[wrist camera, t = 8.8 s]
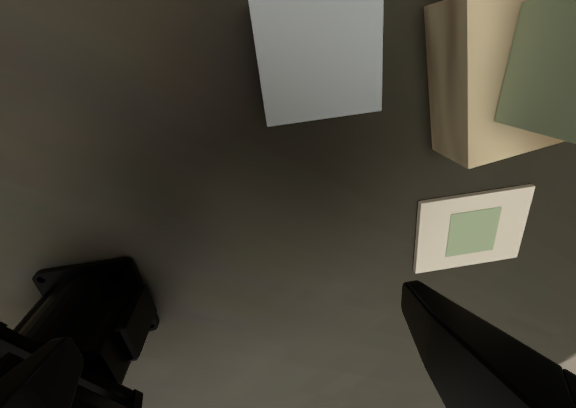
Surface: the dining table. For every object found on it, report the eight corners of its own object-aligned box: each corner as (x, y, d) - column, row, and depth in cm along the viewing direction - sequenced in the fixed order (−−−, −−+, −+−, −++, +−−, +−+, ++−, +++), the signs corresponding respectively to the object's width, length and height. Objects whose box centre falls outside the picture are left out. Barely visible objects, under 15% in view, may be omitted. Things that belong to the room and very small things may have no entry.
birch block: (430, 148, 20) (468, 169, 16) (420, 7, 16) (467, -6, 13) (552, 112, 20) (618, 125, 16) (570, -39, 16) (660, -65, 13)
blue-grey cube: (264, 107, 18) (267, 126, 13) (248, 5, 16) (246, -14, 11) (350, 96, 18) (381, 110, 13) (347, -8, 16) (383, -31, 11)
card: (413, 270, 24) (416, 274, 24) (418, 201, 21) (421, 204, 21) (513, 254, 24) (517, 258, 24) (530, 183, 22) (536, 186, 21)
